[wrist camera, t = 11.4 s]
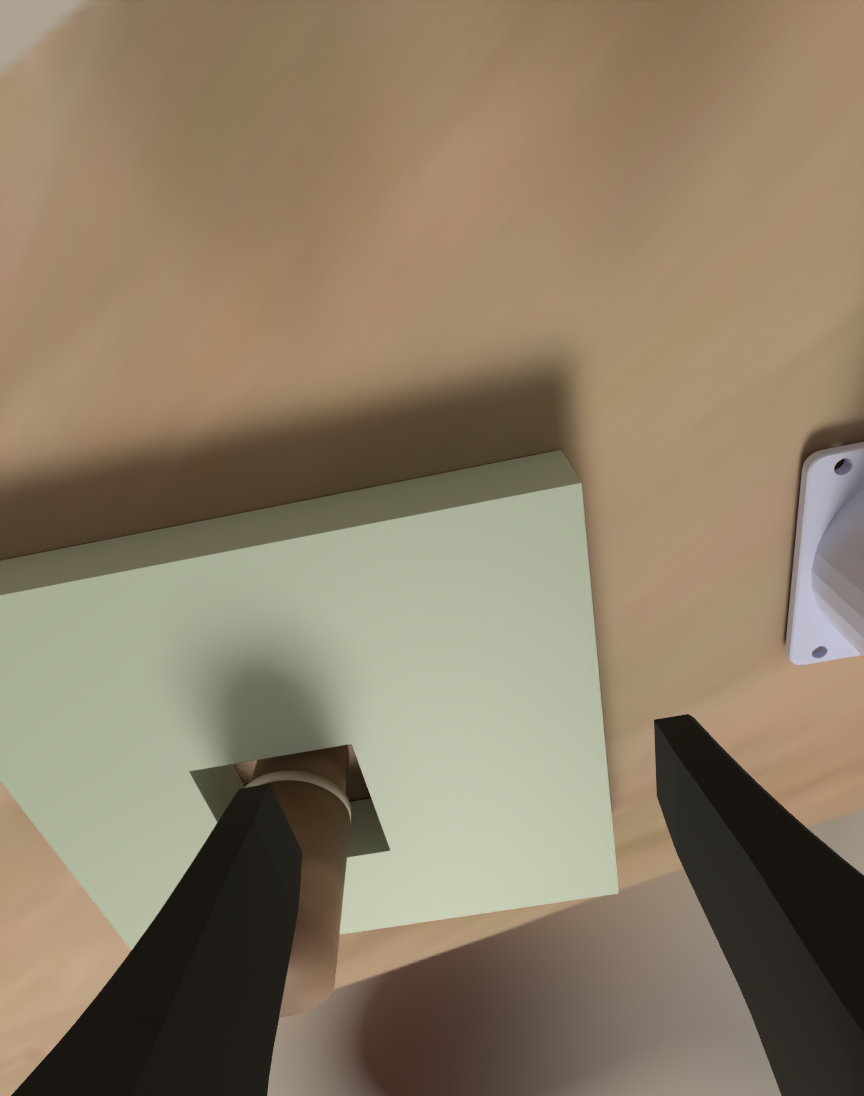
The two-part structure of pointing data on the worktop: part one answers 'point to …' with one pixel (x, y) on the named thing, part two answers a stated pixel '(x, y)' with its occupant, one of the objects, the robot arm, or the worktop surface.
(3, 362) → the worktop surface
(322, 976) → the walnut leg
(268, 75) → the worktop surface
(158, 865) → the socket board
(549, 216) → the worktop surface
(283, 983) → the robot arm
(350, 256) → the worktop surface
